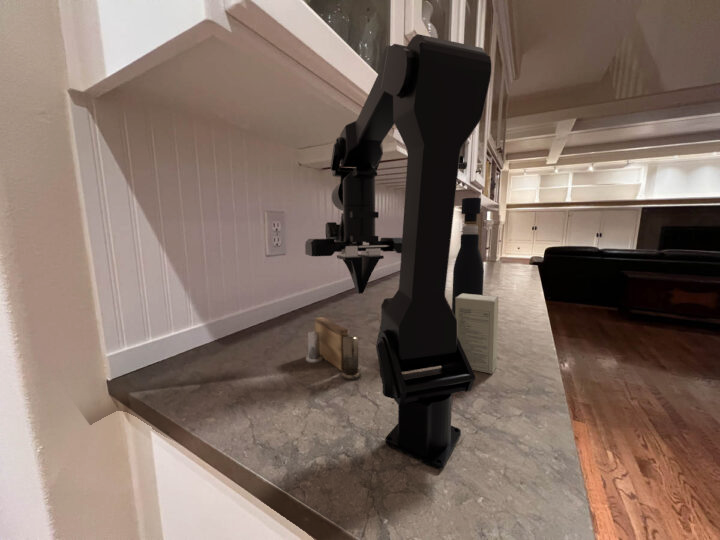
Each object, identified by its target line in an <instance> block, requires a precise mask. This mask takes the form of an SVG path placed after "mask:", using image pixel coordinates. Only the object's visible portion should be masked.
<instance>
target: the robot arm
mask: <svg viewBox="0 0 720 540" xmlns="http://www.w3.org/2000/svg"><path fill="white" fill-rule="evenodd" d="M492 67H493V65H492V59H491V54H487V52H486V51H485V49H483V47H480V46H475V45H471V44H465V43H461V42H458V41H457V42H456V41H451V40H447V39H443V38H439V37H434V36H433V37H432V36H428V35H424V34H419V33H418V34H416V35H414V36H413V37H412V38H411V39H410V41H409V42H408V44H407V45H402V44H398V43H393V44H392V45H390V44H389V45H386V46H385V48H384V49H383V51H382V55H381V58H380V62H379V72H378V74H377V77H376V78H375V81H374V83H373V85H372V86H371V90H369V91H370V92H369V93H368V95H367V97H366V100H365V102H364V104H363V106H362V108H361V110H360V113H359V115H358V116H357V118H356V120H354V121H353V122H349V123H347V124H346V125H345V126H344V127H343V129H342V131H341V132H340V133H339V137H338V136H337V138H336V139H335V143H334V144H333V147H332V154H331V160H330V171H332V175H331V176H332V177H335V178H336V177H339V178H340V181H339V183H338V184H337V185H336V186H335V187H334V188H333V190H332V192H331V201H332V203H333V205H334V207H335V208H337V210H339V211H342V212H343V213H341V215H340V223H339V224H338V223H337V222H336V221H334V222H333V221H332V222H330V221H329V222H328V221H327V222H326V224H325V238H308V239H307V240H306V241H305V244H304V248H305V249H304V250H305V251H304V254H305V255H306V256H311V257H332V256H333V255H334V254H335V253H338V254H336V258H337V259H339V260H342V261H343V263H344V264H345V265H346V267H347V269H348V272H349V274H350V277H351V279H352V282H353V285H354V288H355V292H356V293H357V294H359V295H360V294H364V292H365V289H366V287H367V284H368V283H369V280H370V278H371V276H372V274H373V271H374V270H375V268H376V267H377V265H378V263H379V261H380V260H383V259H385V258H384V255H381V251H382V252H395V253H396V254H400V268H399V280H398V281H399V283H398V289H397V291H396V293H394V295H393V297H390V298H384V299H383V301H382V303H381V305H380V308H381V315H380V316H381V319H380V325H379V332H378V334H377V338H376V339H377V340H376V344H375V348H376V353H377V360H378V368H379V369H378V370H379V375H380V379H381V383H382V384H381V385H382V394H383V396H384V397H387V398H389V399H392V400H394V402H395V403H396V404H397V405H398V407H397V408H398V411H397V412H398V414H397V417H398V418H397V424H396V425H395V426H394V428H392V429H391V431H390V432H389V433H388V434H387V435H386V436H385V445H387V446H390V447H392V448H394V449H395V450H397V451H399V452H402V453H404V454H406V455H408V456H410V457H412V458H415V459H417V460H418V461H420V462H423V463H425V464H427V465H429V466H431V467H433V468H435V469H438V470H442V469H444V468H445V466H446V464H447V463H448V460H449V458H450V456H451V455H452V453H453V450H454V449H455V447H456V445H457V443H458V441H459V439H460V437H461V435H462V434H461V433H462V431H461V429H460V428H459V427H456V426H453V425H452V412H453V409H452V406H453V394H457V393H463V392H466V393H467V392H471V391H472V389H473V386H474V384H475V381H476V375H475V372H474V370H472V368H471V366H470V364H469V361H468V359H467V357H466V355H465V353H464V350H463V348H462V346H461V344H460V341H459V339H458V337H457V319H456V317H455V315H454V313H453V311H452V306H451V305H450V304H449V301H448V299H447V297H446V288H447V280H448V279H447V278H448V271H449V269H448V268H449V260H450V252H451V251H450V249H451V243H452V231H453V225H454V224H453V223H454V214H455V213H454V212H455V205H456V192H457V187H458V186H457V185H458V176H459V175H458V174H459V169H460V168H459V166H460V160H461V159H460V158H461V151H462V148H463V146H464V145H465V144H466V142H467V141H468V139H469V138H470V136H471V135H472V134H473V132H474V131H475V129H476V127H478V125H479V124H480V122H481V120H482V118H483V116H484V115H483V114H484V111H485V105H486V101H487V96H488V92H489V88H490V84H491V77H492ZM394 125H395V127H396V130H397V131H398V133H399V136H400V138H401V140H402V142H403V144H404V145H405V148H406V150H407V159H406V161H407V164H406V175H405V177H406V178H405V189H404V190H405V192H404V207H403V209H404V210H403V222H402V237H381V238H380V240H379V235H376V219H378V218H379V211H376V177H377V176H378V168H379V165H380V162H381V161H382V156H383V154H384V150H383V149H384V146H383V141H384V139H386V137H387V135H388V134H389V133H390V131H391V130H392V128H393V127H394ZM364 243H366V244H364ZM359 252H360V253H359ZM434 367H435V368H434ZM436 367H438V368H436ZM430 368H432V369H430ZM423 369H425V370H423ZM417 370H420V371H417ZM411 371H412V372H411ZM413 371H414V372H413ZM405 372H409V373H405Z"/></svg>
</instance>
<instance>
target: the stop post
mask: <svg viewBox="0 0 720 540" xmlns="http://www.w3.org/2000/svg"><path fill="white" fill-rule="evenodd" d="M307 343H308V354H307V356H305V361H306V362H307V364H308V363H309V364H319V363H321V362H322V361H323V360H324V358H323V356H322V355H321V354H320V340H319V332H317V331H316V330H315V331H314V330H313V331H312V330H311V331H309V332H308V334H307Z"/></svg>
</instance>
